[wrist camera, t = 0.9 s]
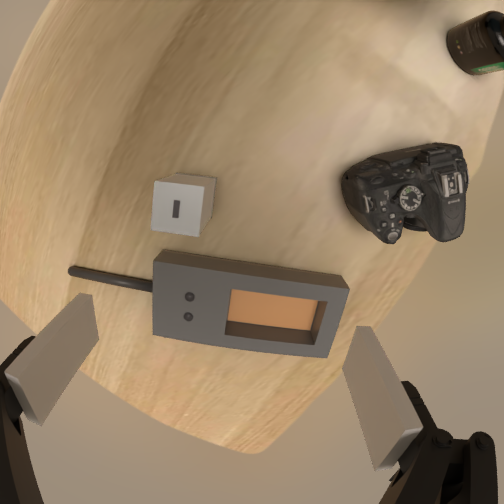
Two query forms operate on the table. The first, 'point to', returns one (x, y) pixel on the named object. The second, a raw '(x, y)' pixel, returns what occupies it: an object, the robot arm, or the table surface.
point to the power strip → (239, 303)
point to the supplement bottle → (479, 43)
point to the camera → (410, 192)
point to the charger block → (183, 203)
